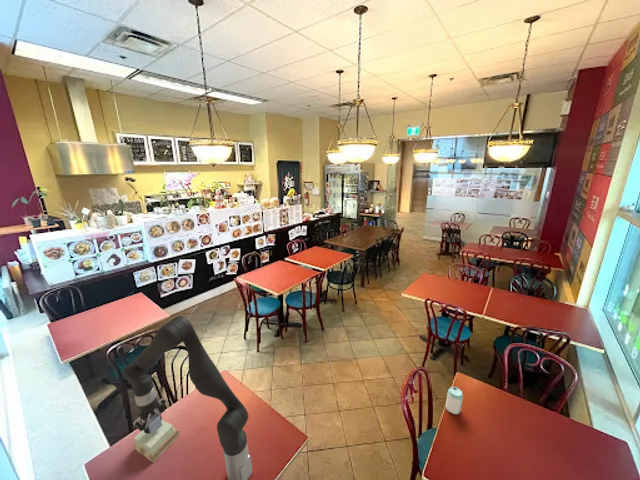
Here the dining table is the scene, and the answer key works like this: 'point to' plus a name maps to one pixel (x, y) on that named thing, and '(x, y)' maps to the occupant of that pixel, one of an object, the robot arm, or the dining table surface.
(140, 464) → the dining table surface
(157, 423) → the slate cube
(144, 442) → the top block
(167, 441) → the base block
